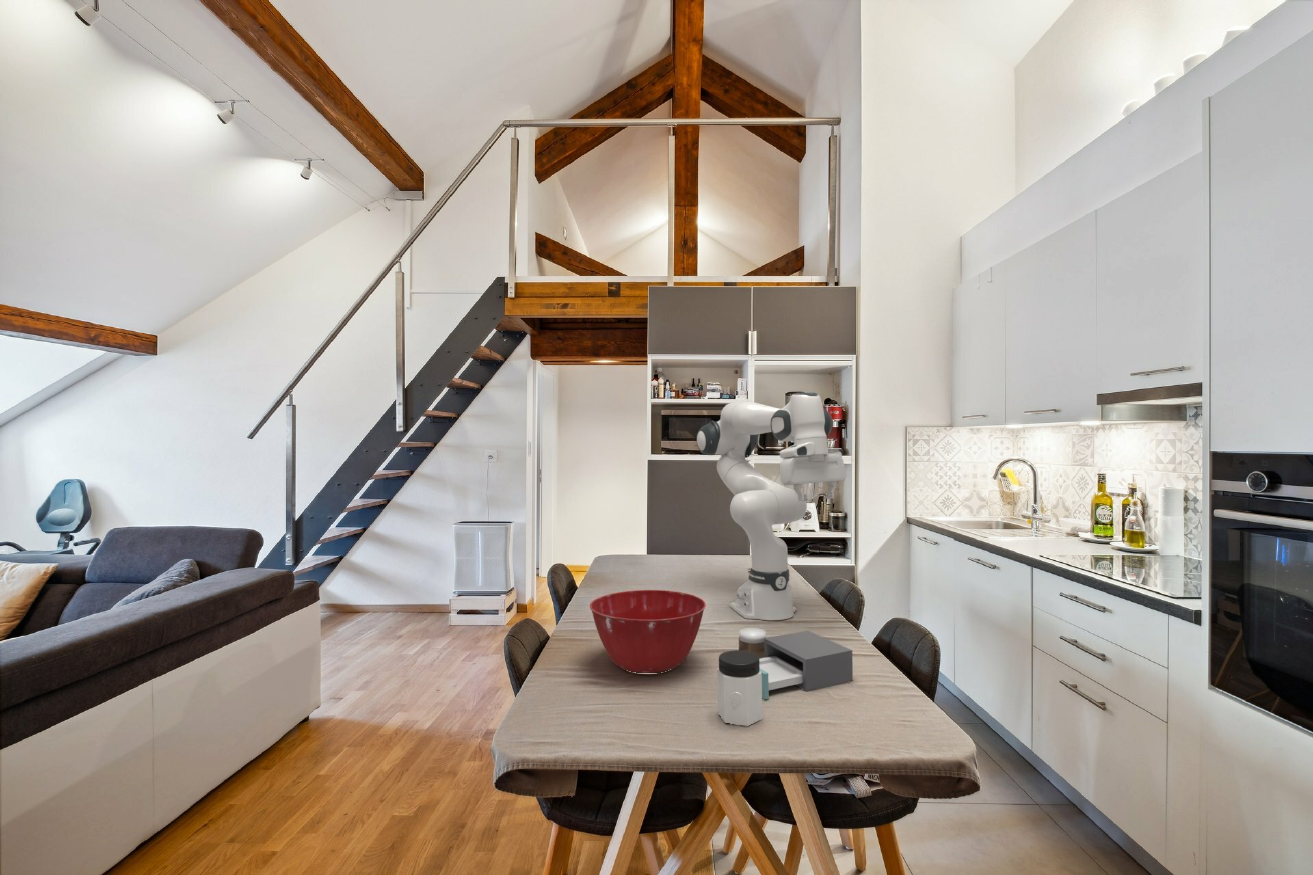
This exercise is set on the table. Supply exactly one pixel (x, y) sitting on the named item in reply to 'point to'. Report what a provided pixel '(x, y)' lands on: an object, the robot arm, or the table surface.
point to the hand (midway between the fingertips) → (816, 499)
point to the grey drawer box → (812, 658)
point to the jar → (739, 687)
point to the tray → (778, 674)
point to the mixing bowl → (648, 628)
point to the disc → (752, 635)
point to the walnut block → (753, 648)
